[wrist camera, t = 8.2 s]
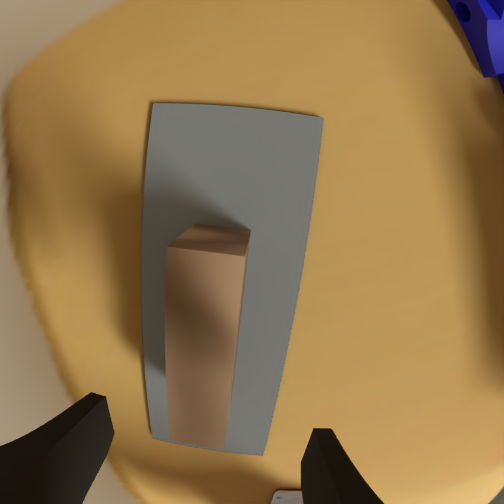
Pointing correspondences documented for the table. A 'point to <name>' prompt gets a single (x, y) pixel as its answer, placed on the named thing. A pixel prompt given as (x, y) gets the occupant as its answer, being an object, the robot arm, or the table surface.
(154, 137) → the charcoal mat
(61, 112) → the table surface
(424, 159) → the table surface
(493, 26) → the blue semicircular cradle bracket
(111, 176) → the table surface
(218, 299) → the walnut block
